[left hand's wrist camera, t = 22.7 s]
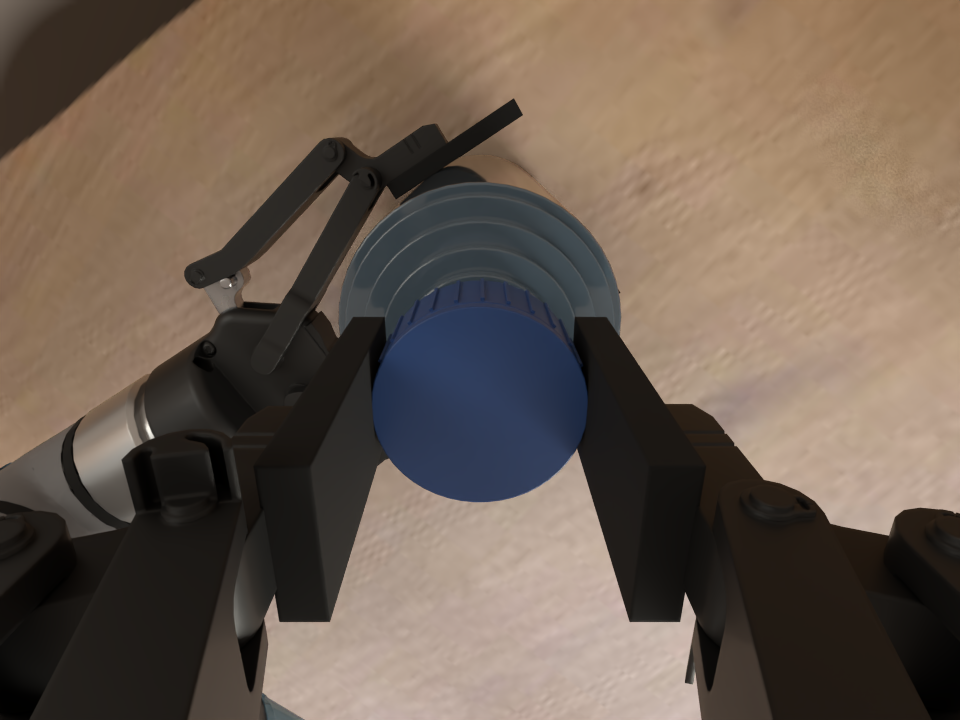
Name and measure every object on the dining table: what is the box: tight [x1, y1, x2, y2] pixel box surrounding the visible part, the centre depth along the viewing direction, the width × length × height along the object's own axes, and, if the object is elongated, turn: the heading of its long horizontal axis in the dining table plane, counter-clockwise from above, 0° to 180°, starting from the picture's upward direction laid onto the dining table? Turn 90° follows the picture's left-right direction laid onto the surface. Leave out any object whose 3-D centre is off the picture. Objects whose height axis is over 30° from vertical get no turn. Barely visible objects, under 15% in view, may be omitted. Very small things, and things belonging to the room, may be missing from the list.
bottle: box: [339, 155, 621, 342], centre depth 23 cm, size 8×8×22 cm
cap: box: [372, 278, 588, 502], centre depth 13 cm, size 5×5×2 cm
